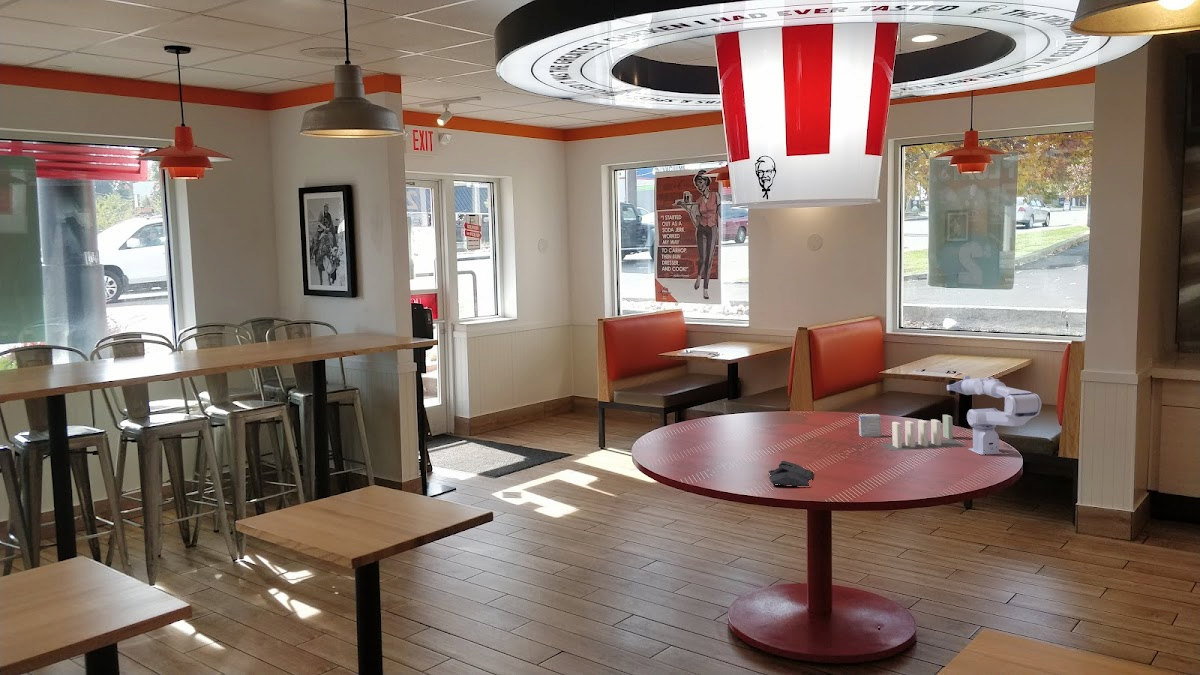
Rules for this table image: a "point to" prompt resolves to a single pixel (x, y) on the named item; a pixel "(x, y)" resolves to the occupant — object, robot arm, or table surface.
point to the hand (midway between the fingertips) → (956, 387)
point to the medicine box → (870, 425)
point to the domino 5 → (947, 427)
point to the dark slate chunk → (790, 475)
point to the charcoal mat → (917, 446)
